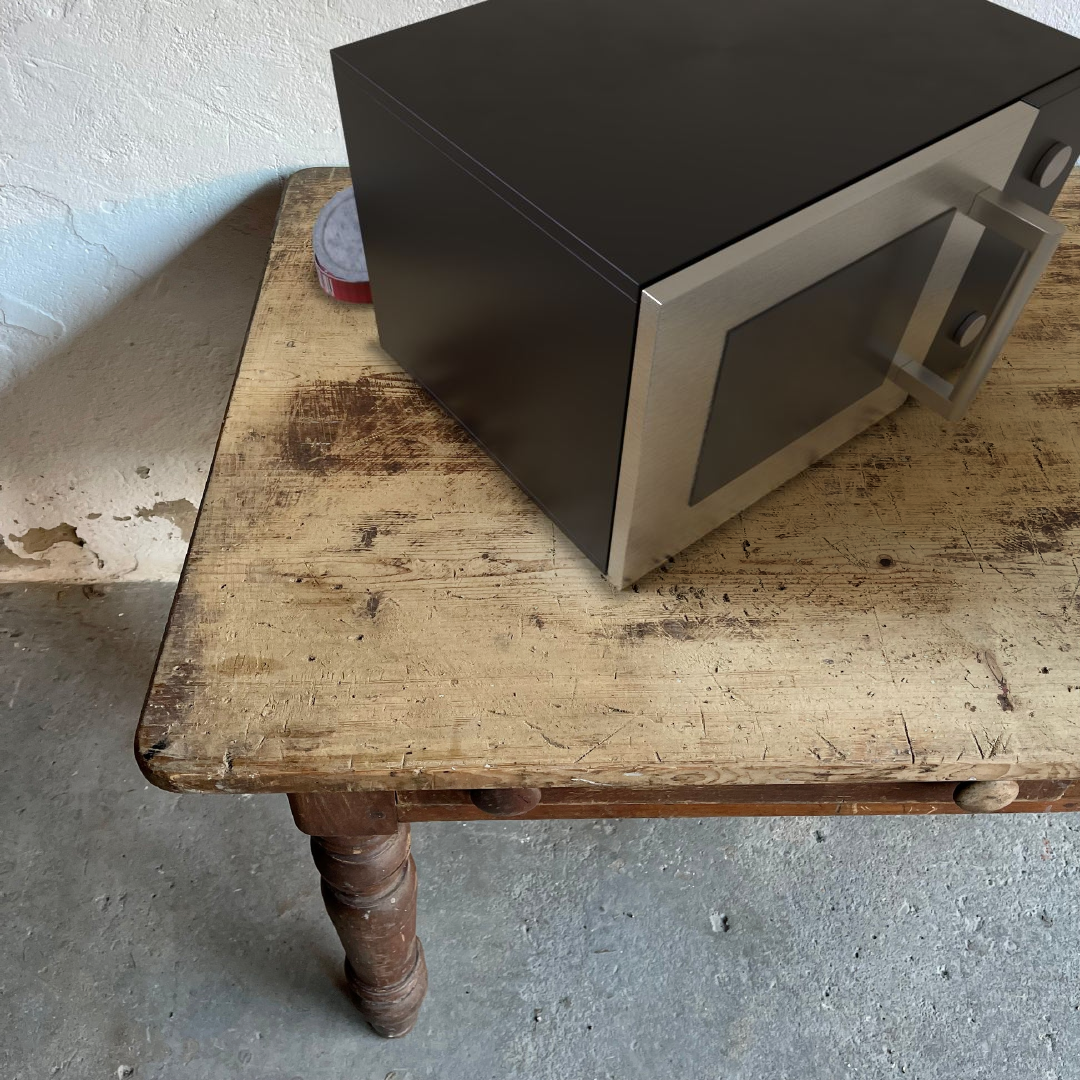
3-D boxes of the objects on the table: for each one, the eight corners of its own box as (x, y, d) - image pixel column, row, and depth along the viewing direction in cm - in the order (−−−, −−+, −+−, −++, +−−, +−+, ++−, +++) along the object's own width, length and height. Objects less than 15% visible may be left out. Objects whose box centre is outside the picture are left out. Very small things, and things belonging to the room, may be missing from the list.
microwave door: (961, 445, 79) (1127, 150, 57) (675, 649, 67) (747, 370, 45) (889, 395, 83) (1020, 100, 61) (606, 578, 70) (641, 289, 48)
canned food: (419, 303, 98) (449, 248, 90) (348, 339, 93) (372, 284, 84) (356, 222, 98) (380, 159, 90) (281, 254, 93) (299, 190, 84)
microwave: (982, 359, 87) (1140, 63, 64) (624, 598, 70) (668, 307, 47) (719, 190, 104) (771, -90, 81) (380, 348, 87) (328, 49, 64)
